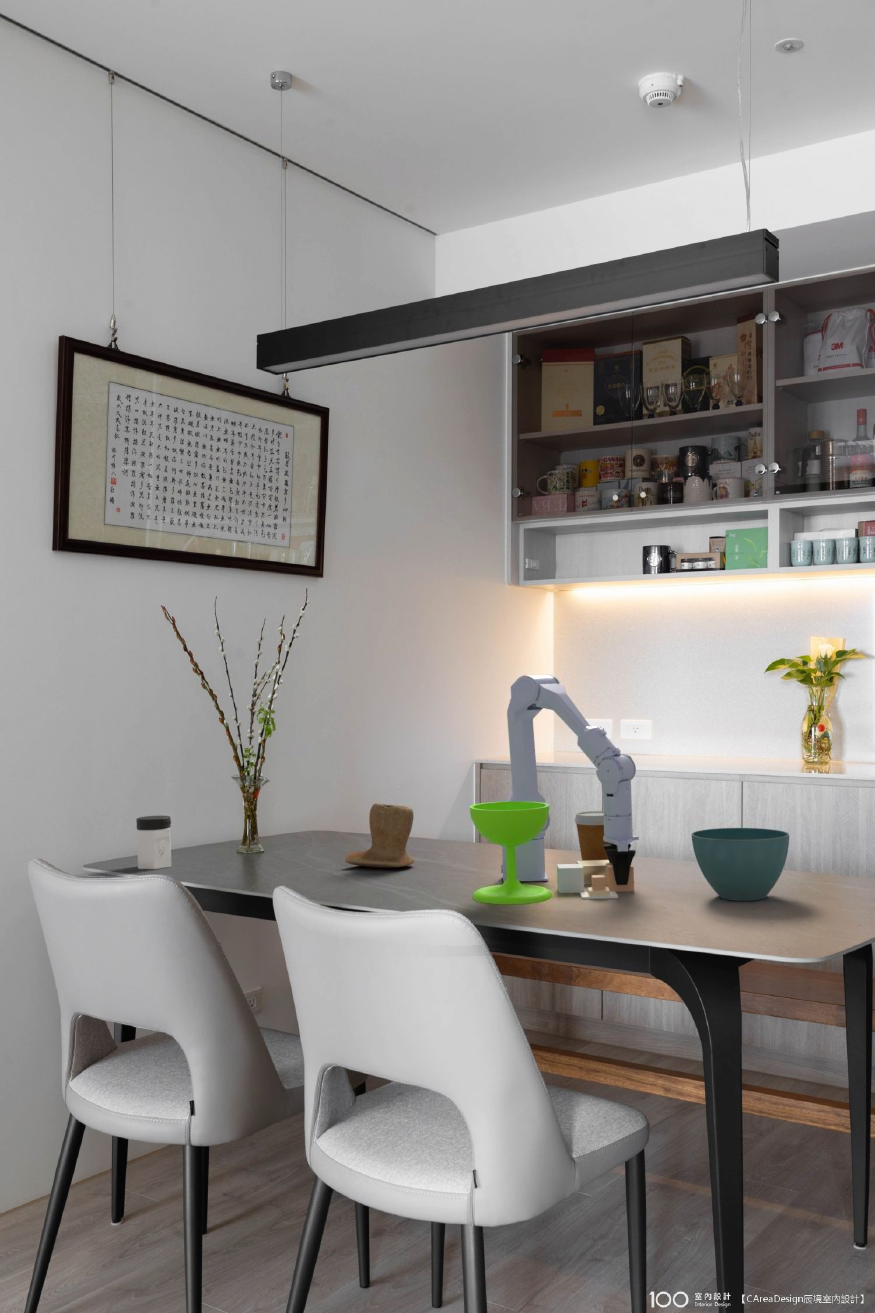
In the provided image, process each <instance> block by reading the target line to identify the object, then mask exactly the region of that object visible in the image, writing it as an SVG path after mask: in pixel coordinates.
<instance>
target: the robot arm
mask: <svg viewBox="0 0 875 1313" xmlns="http://www.w3.org/2000/svg"><path fill="white" fill-rule="evenodd" d="M543 709H546V710H551V711H553V712H554V713H555V714H556V715H557V716H558V717H559V718H560V719H561V720H562V722H563V723H564V724H565V725H566V726H567V727H568V728H569V729H570V730H571V731H572V733H574V734H575V736H577V746H578V748H580V750H581V751H582V753H583V754H585V756H586V757H587V758H588V759H589V761H591V764H593V766H594V767H595V768H596V770H595V773H596V777H597V779H598V781H600V784H601V791H602V803H603V804H602V805H603V807H602V808H603V810H602V811H604V837H603V840H604V841H605V842H609V843H611V844H606V845H603V847H604V849H605V851H606V853H607V856H608V859H609V863H612V866H613V870H614V876H615V881H616V884H617V885H627V883H628V879H629V872H630V866H631V864H632V862H633V860H634V858H635V855H636V850H635V849H632V850H631V847H632V844H631V843H632V842H633V841H639V839H640V837H639V835H634V834H633V832H634V830H633V807H632V806H633V805H632V804H633V800H632V780H634V778H635V776H636V774H637V773H636V772H637V767H636V764H635V761H634V760H633V758H632V756H631V755H629V754H627V753H626V754H625V753H622V752H621V750H620V749H619V747H616V746H615V745H614V743H613V742H612V741H611V740H610V739H609V738H608V737H607V731H606V730H605V729H604V728H603V729H602V728H600V727H598V726H591V725H590V724H589V722H588V721H587V719H586V718H585V717H584V715H583V714H582V713H581V711H580V710H579V708H578V707H577V705H576V704H575V703H574V702H573V700H572V699H571V698H570V696H569V695H568V693H567V689H566V687H565V686H564V685H563V684H562V683H560V680H559V679H558V677H556V676H554V675H552V674H544V675H528V674H525V675H522V676H519V677H518V678H517V679H516V680H514V682H513V683H512V685H511V686H510V700H509V703H508V707H507V710H506V711H507V712H506V719H507V732H508V734H507V735H508V743H509V744H508V745H509V747H508V748H509V757H510V758H509V760H510V761H509V762H510V773H511V789H512V794H511V795H509V798H508V799H507V801H506V802H509V801H526V802H541V803H546V799H545V797H544V796H543V795H542V794H541V793H540V792H539V785H538V784H539V783H538V772H537V771H538V770H537V769H538V768H537V761H536V760H537V759H536V757H537V756H536V744H535V732H534V731H535V729H534V719H535V717H537V715H539V713H540V712H541V711H542V710H543ZM550 826H551V815H550V814H549V816H548V819H547V821H546V824H545V826H544V827H543V829H542V830H541V832H540V833H539V834H538V835H537V836H536V837H534V838H533V839H532V840H531V841H529V842H527V843H524V844H522V845H519V846H515V849H516V877H517V879H518V881H519V882H545V881H546V882H547V881H549V877H548V873H547V872H546V860H545V859H546V858H545V857H546V856H545V855H546V854H545V836H546V831H547V830H548V829H549V827H550ZM501 858H502V864H500V871H501V872H500V873H501V874H502V880H503V883H504V882H505V880H506V878H507V864H506V846H501Z"/></svg>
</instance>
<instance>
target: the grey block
mask: <svg viewBox="0 0 875 1313" xmlns="http://www.w3.org/2000/svg"><path fill="white" fill-rule="evenodd" d="M556 873H557V874H556V877H557V879H556V880H557V890H558V893H559V894H574V893H577V894H578V893H579V894H580V892H585V884H584V869H583V866H582V864H577V863H562V864H561V863H560V864H559V863H557V864H556Z"/></svg>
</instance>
